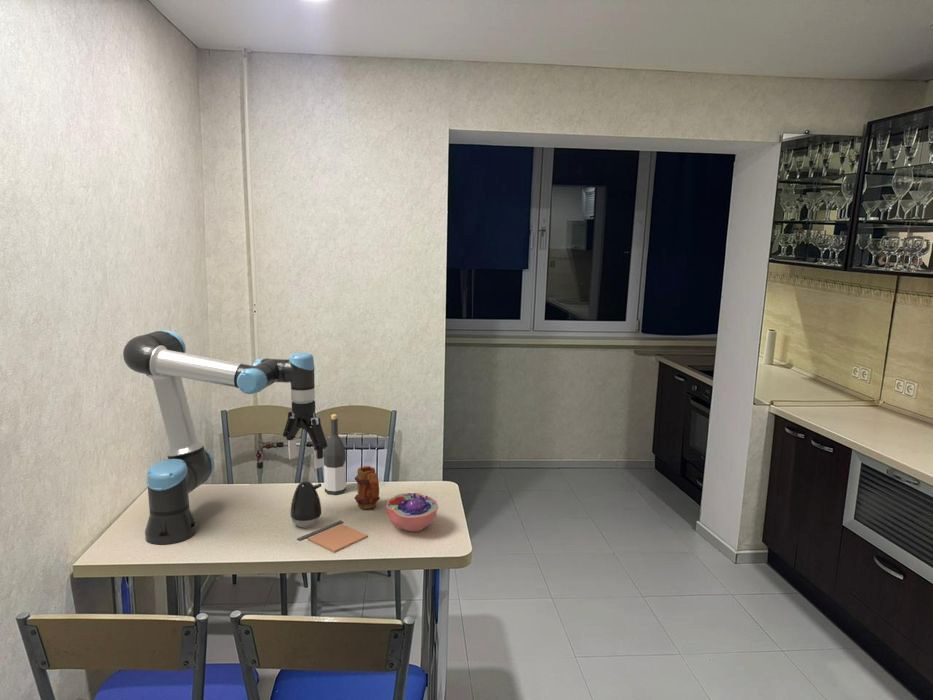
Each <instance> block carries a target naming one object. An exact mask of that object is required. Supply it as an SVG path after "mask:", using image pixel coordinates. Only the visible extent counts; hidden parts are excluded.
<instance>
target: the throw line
mask: <svg viewBox="0 0 933 700" xmlns="http://www.w3.org/2000/svg"><path fill="white" fill-rule="evenodd" d="M340 524H344V520H341V519H340V520H338V521H335V522H332V523H330V524H328V525H325V526H323V527H322V528H318V529H316V530H313V531H312V532H309V533H307V534H305V535H302V536H300V537H296V540H297V541H299V542H301V541H303V540H305V539H307V538H309V537H312V536H314V535H316V534H319V533H321V532H323V531H326V530H328V529H330V528H333V527H335V526H337V525H340Z"/></svg>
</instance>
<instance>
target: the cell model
mask: <svg viewBox="0 0 933 700" xmlns="http://www.w3.org/2000/svg"><path fill="white" fill-rule="evenodd" d="M438 509H439V504H438V501H437V500H435V499H434V498H433V497H431V496H428V495H424V494H421V493H415V492H411V493H410V492H406V493H401V494H400V493H399V494H397V495H394V496H393V497H391V498H390V499H388V500H387V502H386V508H385V513H386V516H387V518H388V520H389V522H390V523H391V524H392V525H393V526H394V528H396V529H399V530H404V531H407V532H411V533H415V532H420V531H422V530H423V529H424V528H425V529H426V528H427V527H428V526H429V525H430V524H431V523H433V521H435V519H436V518H437V512H438Z"/></svg>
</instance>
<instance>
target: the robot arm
mask: <svg viewBox="0 0 933 700" xmlns="http://www.w3.org/2000/svg"><path fill="white" fill-rule="evenodd" d="M186 350H187V349H186V345H185V341H184V339H183V338H182V337H181V336H180V335H179V334H177V333H176V332H174V331H172V330H165V329H163V330H156V331H153V332H149V333H146V334H143V335H138V336H135V337H133V338H131V339H129V341H127V343H126V344H125V346H124V348H123V351H122V357H123V360H124V363H125V364H126V366H127V367H128V368H129V369H130V370H132V371H134V372H136V373H139V374H143V375H145V376H146V377H147V378H149V379H151V380H152V382H153V385H154V386H153V387H154V389H155V394H156V398H157V402H158V406H159V408H160V413H161V417H162V421H163V425H164V428H165V429H164V430H165V433H166V436H167V440H168V444H169V447H170V448H169V450H168V452H167V453H166V456H167V459H163V461H162V460H161V461H158V462H156V463H154V464H153V465H151V466H150V467H149V468H148V470H147V474H146V477H147V478H146V485H147V496H148V497H147V498H148V505H149V506H148V507H149V517H148V520H147V523H146V527H145V531H144V536H145V537H144V538H145V541H146V542H147V543H150V544H155V545H171V544H176V543H179V542H182V541H185V540H188V539H190V538H191V537H193V536H194V535H195V534H196V532H197V522H196V520H195V518H194V515H193V513H192V512H191V509H190V501H189V500H190V499H189V494H190V493H191V492H193V491H195V490H196V489H197V488H199V486H202V485H204V483H205V482H207V481H208V480H209V479H210V478H211V476H212V475H213V473H214V472H215V471H214V470H215V460H214V457H213V455H212V454H211V452H208V450H207V449H206V448H205V446H204V443H201V441H198V438H197V434H196V431H195V427H194V423H193V419H192V414H191V410H190V407H189V402H188V399H187V394H186V391H185V387H184V383H183V380H182V379H183V378H184V379H187V380H188V379H189V380H194V381H199V382H204V383H209V384H213V385H214V384H215V385H220V386H225V387H232V388H236V389H239V390H240V391H241V392H242V393H243V394H247V395H254V394H257V393H260V392H261V391H263V390H264V389H266V388H268V387H269V386H271V385H273V384H275V383H285V384H287V383H289V384H290V398H291V411H289V412H288V413H287V421H286V423H285V426H284V429H283V434H282V437H283V438H286V439H285V440H286V441H287V449H288V460H294V459H295V458H298V457H297V456H298V455H297V439H296V438H297V437H296V436H297V434H298V433H299V431H300V429H302V430H304V431H305V432H306V433H307V434H308V436H309V437H310V440H311V442H312V445H314V449H313V461H314V464H313V465H314V469H316V470H318V469H320V468H324V462H323V459H324V449H325V448H326V447H327V446H328V445H327V442H328V441H327V439H326V436H325V434H324V431H323V427H322V424H321V418H320V417H314V413H316V400H315V399H316V392H315V391H316V390H315V367H316V366H315V361H314V359H315V358H314V355H313V354H311V353H308V352H297V353H291V354H290V356H289V359H283V358H268V357H266V358H257V359H255V361H254V362H253V364H252V365H250V364H243V363H239V362H234V361H228V360H225V359H224V360H223V359H217V358H214V357H213V358H212V357H207V356H202V355H197V354H191V353H186Z"/></svg>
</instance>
